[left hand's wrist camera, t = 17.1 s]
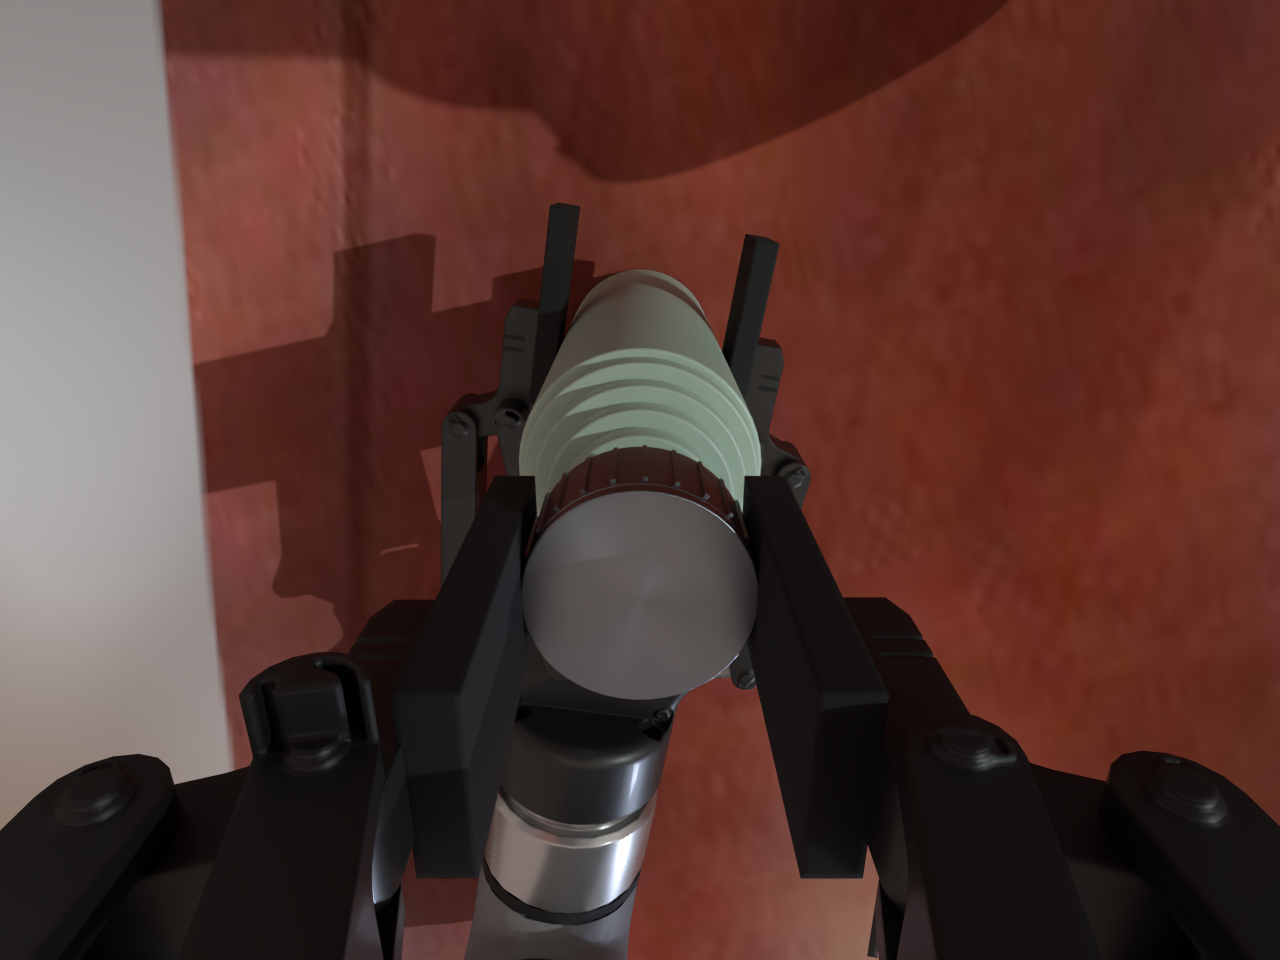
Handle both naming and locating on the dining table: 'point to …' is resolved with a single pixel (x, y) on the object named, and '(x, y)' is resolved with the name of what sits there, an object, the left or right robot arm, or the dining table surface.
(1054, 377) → the dining table surface
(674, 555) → the cap
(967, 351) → the dining table surface
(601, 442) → the bottle
